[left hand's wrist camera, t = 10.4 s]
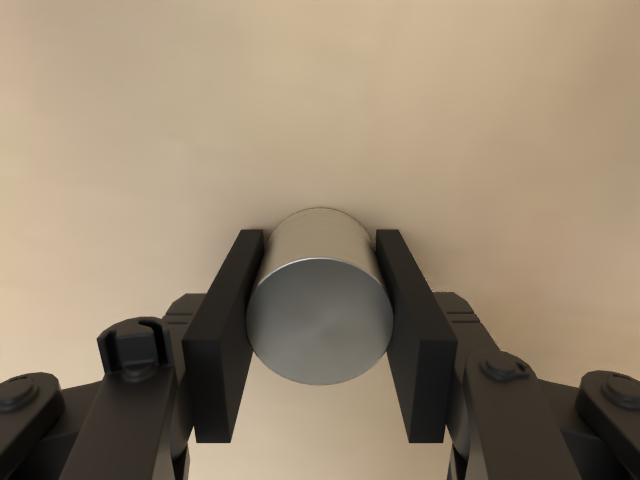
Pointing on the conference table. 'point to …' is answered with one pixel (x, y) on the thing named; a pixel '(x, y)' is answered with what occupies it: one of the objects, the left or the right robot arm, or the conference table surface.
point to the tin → (319, 300)
